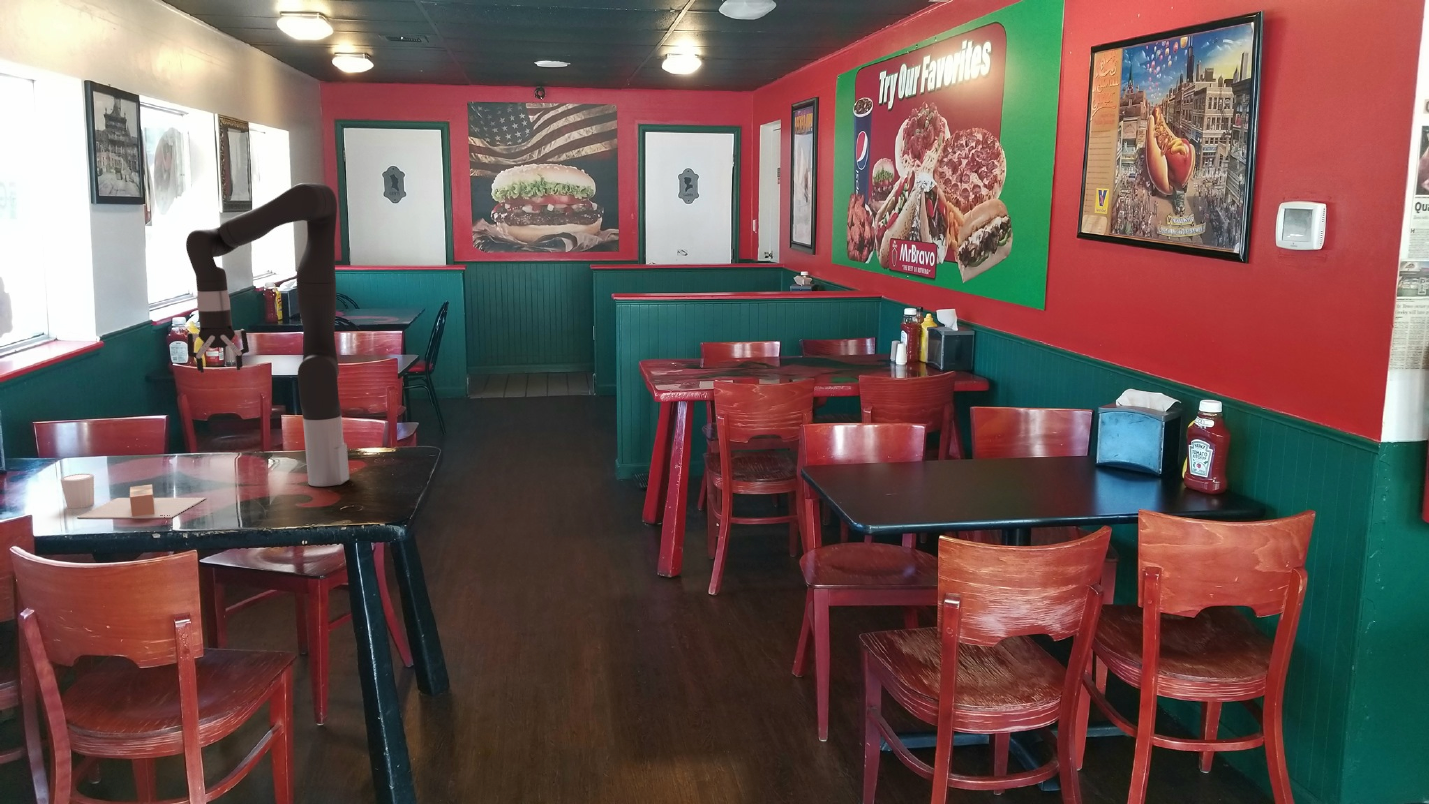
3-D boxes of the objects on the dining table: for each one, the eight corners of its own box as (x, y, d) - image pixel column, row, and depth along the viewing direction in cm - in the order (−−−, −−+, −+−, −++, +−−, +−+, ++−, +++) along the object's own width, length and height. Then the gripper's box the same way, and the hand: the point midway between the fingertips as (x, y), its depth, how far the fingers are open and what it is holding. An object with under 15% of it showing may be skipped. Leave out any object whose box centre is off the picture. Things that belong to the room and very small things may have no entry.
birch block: (152, 484, 253) (152, 494, 244) (154, 503, 254) (154, 513, 245) (130, 487, 251) (129, 497, 242) (132, 505, 252) (132, 516, 243)
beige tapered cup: (81, 509, 250) (78, 481, 248) (56, 508, 251) (53, 479, 250) (103, 501, 256) (100, 473, 255) (79, 500, 258) (75, 472, 256)
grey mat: (206, 498, 258) (206, 497, 258) (171, 518, 242) (171, 517, 242) (117, 499, 258) (117, 497, 258) (77, 518, 243) (76, 517, 243)
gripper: (183, 311, 264) (190, 375, 267) (246, 308, 270) (251, 370, 273) (182, 308, 270) (189, 371, 273) (243, 305, 277) (248, 367, 280)
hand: (220, 371), depth 273 cm, fingers open, 8 cm apart
